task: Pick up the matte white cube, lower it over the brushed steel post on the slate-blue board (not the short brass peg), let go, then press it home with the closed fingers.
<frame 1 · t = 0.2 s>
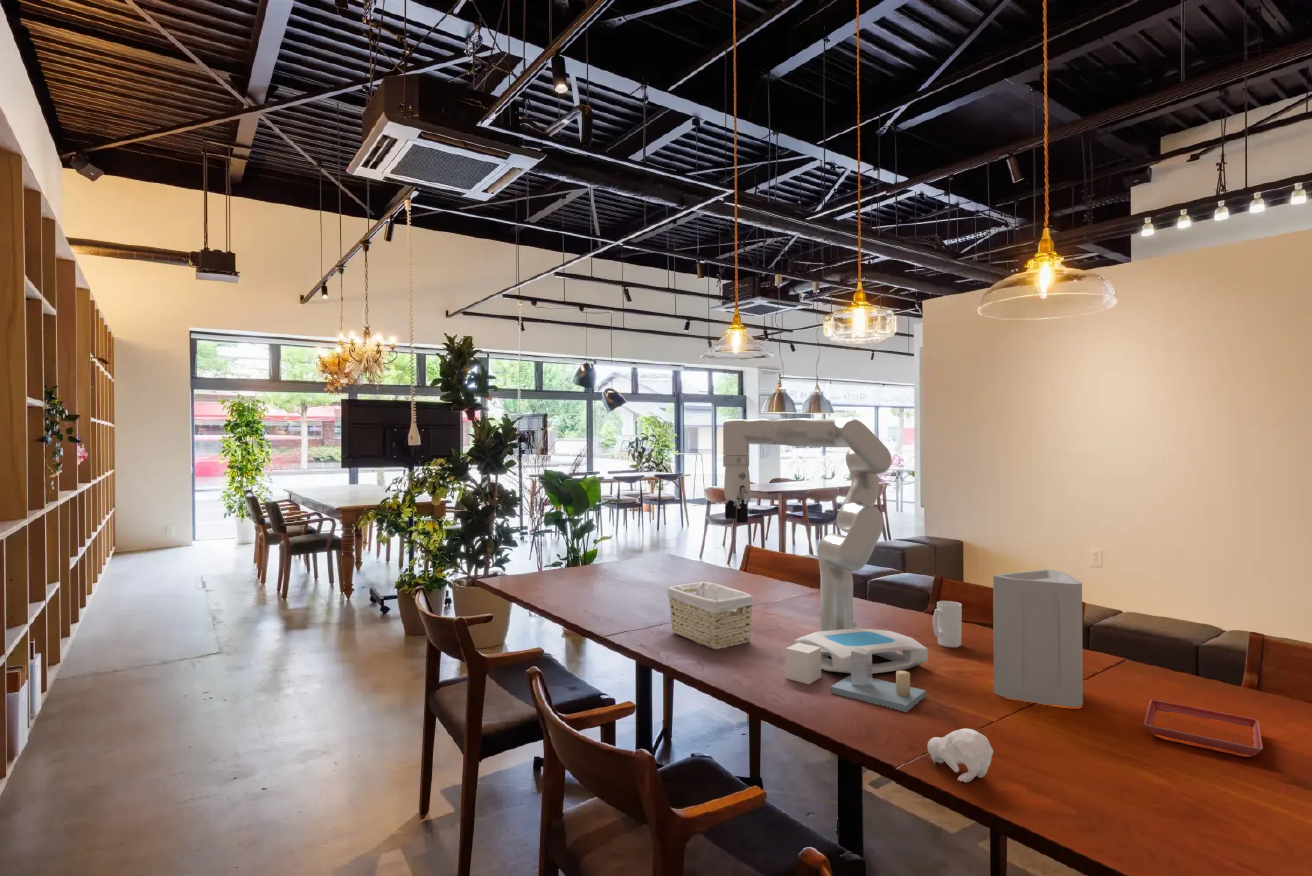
hand: (736, 520, 198), 37 cm above the table, tool pointing down, fingers open, 9 cm apart
storage basket: (709, 639, 208), on the table
slate board: (877, 694, 161), on the table
steel post: (861, 690, 164), resting on slate board
white animal figure: (956, 773, 124), on the table
matte white cube: (803, 678, 173), on the table
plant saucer: (1201, 738, 139), on the table
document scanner: (859, 662, 184), on the table, touching slate board
grey triangular planter: (1048, 698, 159), on the table
mug: (945, 645, 201), on the table
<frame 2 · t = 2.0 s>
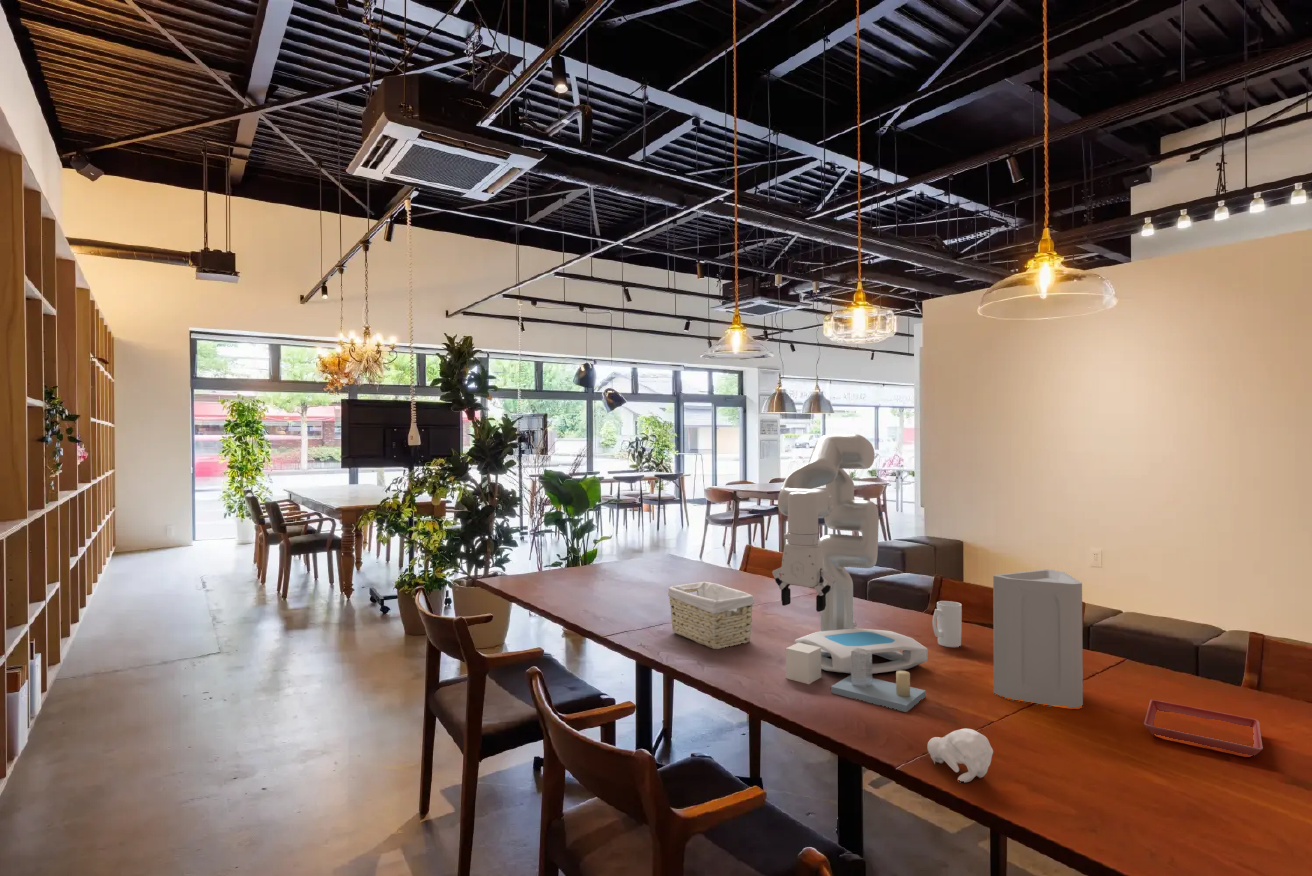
hand: (803, 607, 173), 18 cm above the table, tool pointing down, fingers open, 9 cm apart
nothing on the table moved.
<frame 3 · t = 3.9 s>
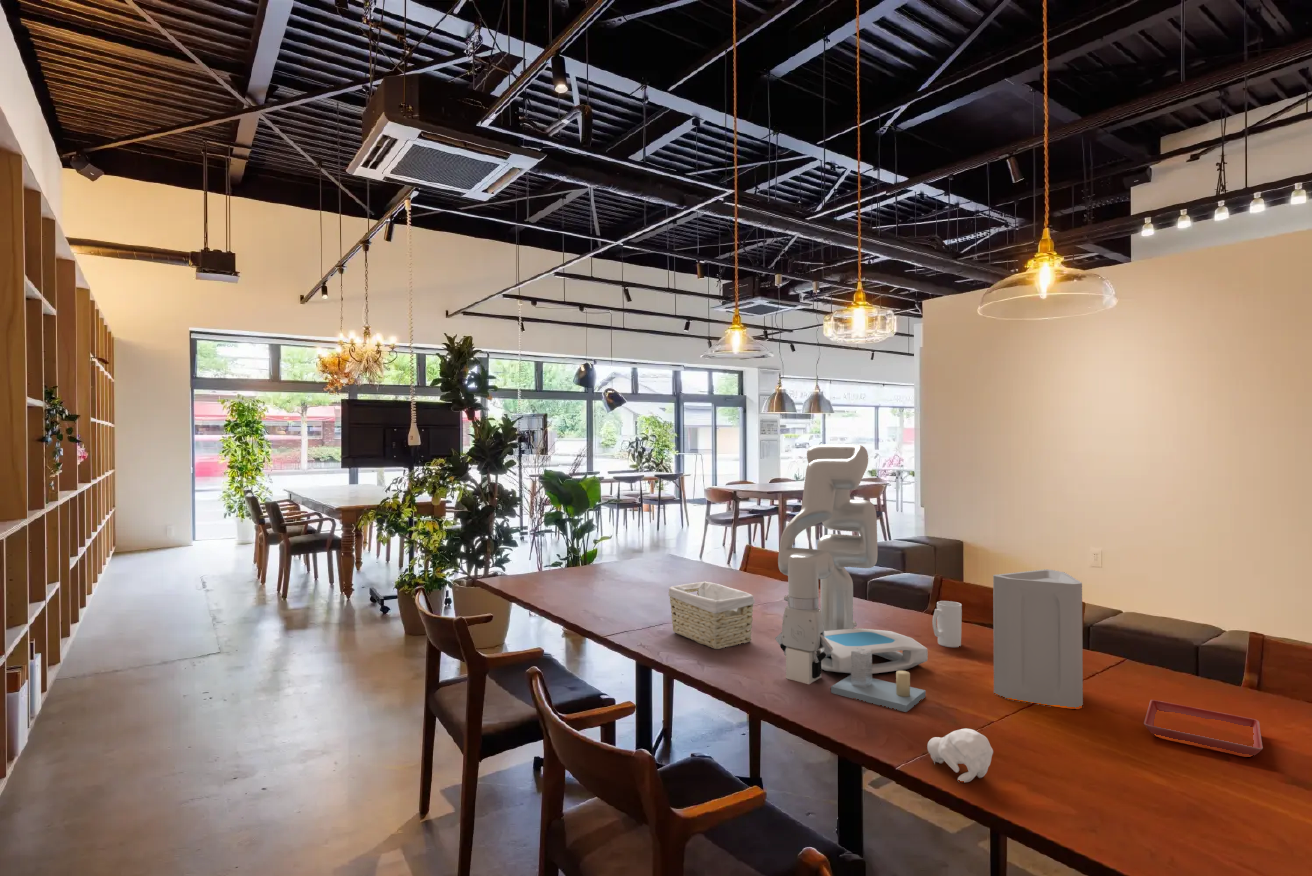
hand: (803, 673, 173), 1 cm above the table, tool pointing down, fingers closed on matte white cube, 6 cm apart
matte white cube: (803, 678, 173), on the table, touching gripper
everything else where it was.
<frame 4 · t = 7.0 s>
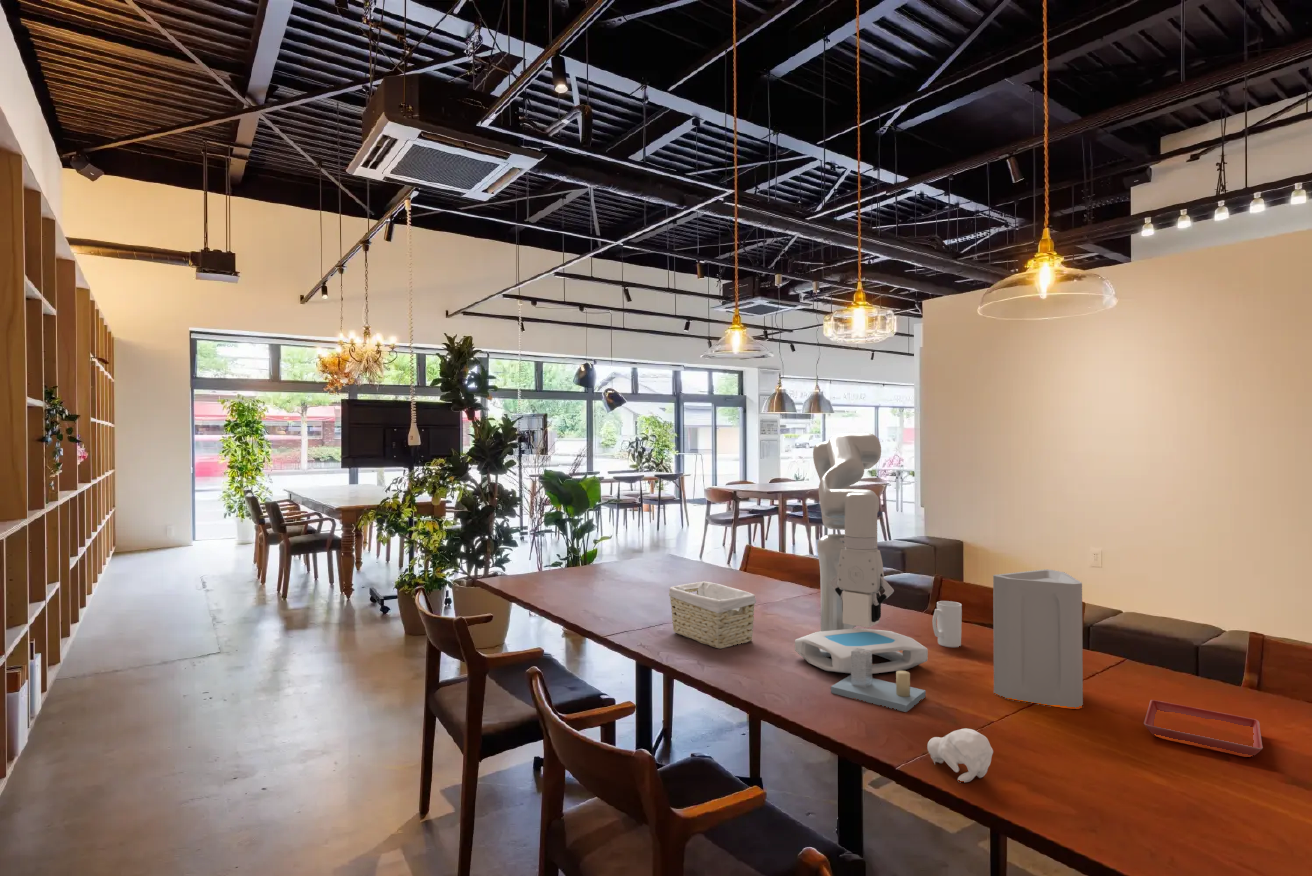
hand: (861, 617, 164), 18 cm above the table, tool pointing down, fingers closed on matte white cube, 6 cm apart
matte white cube: (861, 622, 164), point 16 cm above the table, touching gripper
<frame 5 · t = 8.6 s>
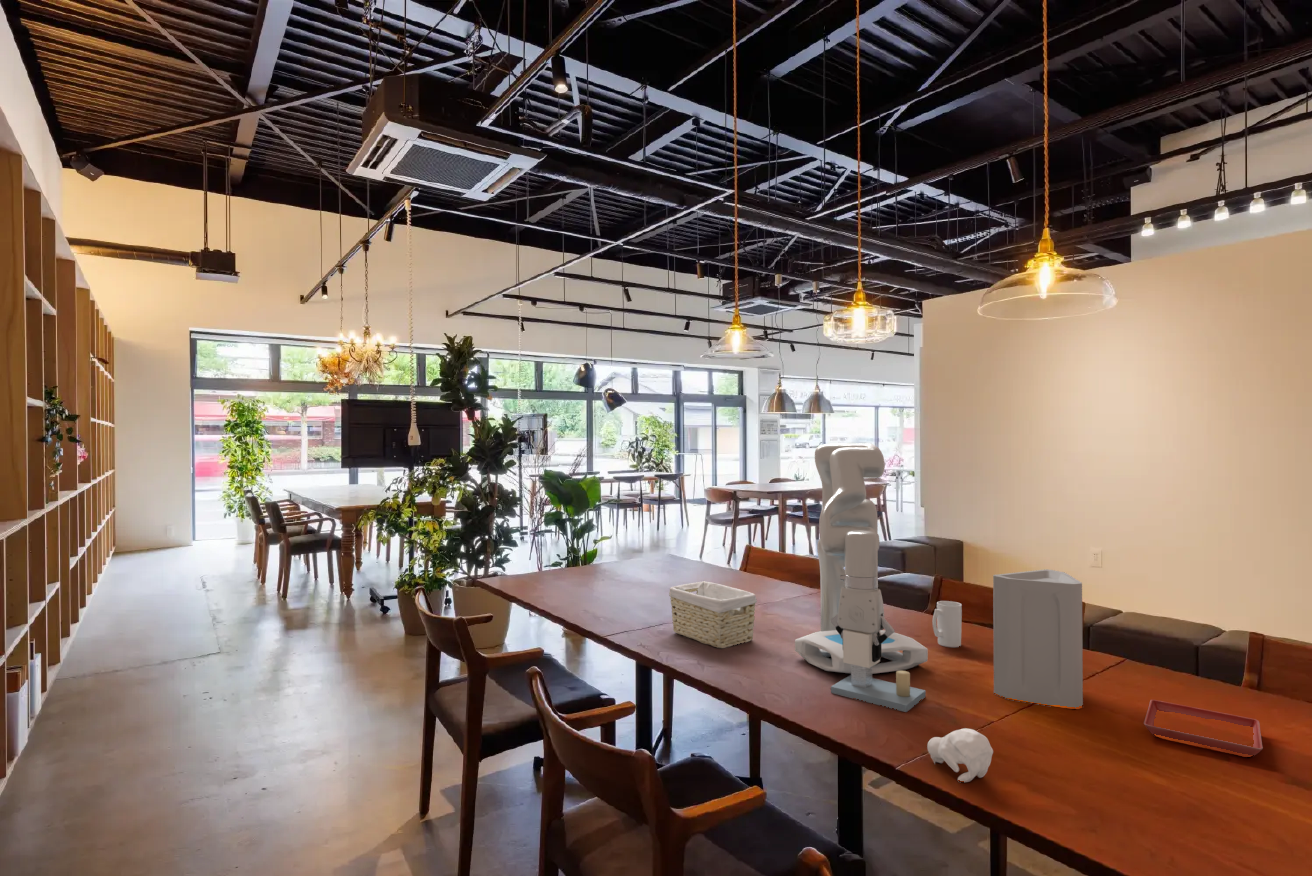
hand: (861, 657, 164), 8 cm above the table, tool pointing down, fingers closed on matte white cube, 6 cm apart
matte white cube: (861, 662, 164), point 7 cm above the table, touching gripper
when the fingers open (4 cm above the table, at t = 9.9 s): matte white cube stays where it is, resting on steel post.
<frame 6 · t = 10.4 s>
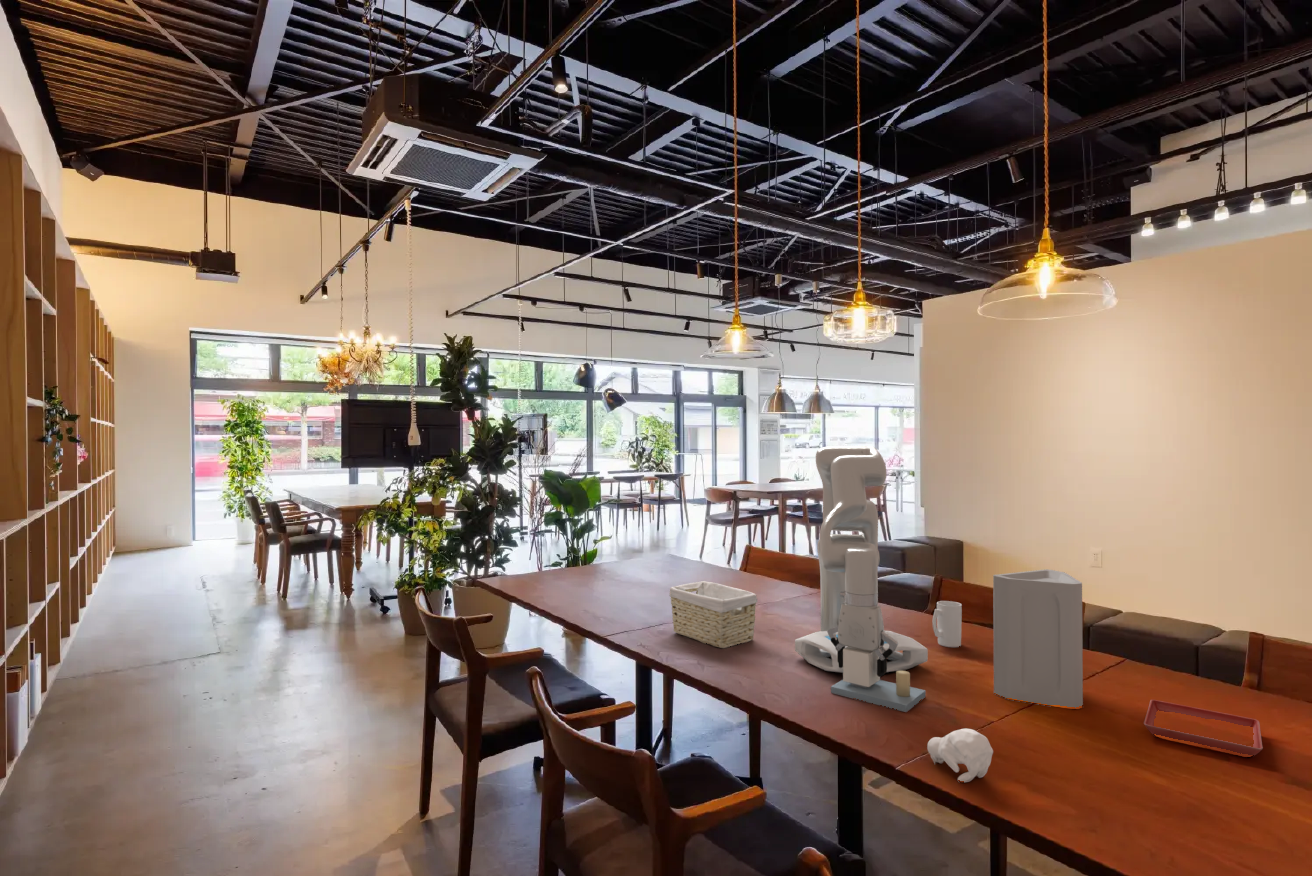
hand: (861, 670, 164), 5 cm above the table, tool pointing down, fingers open, 9 cm apart
matte white cube: (861, 680, 164), point 2 cm above the table, touching steel post
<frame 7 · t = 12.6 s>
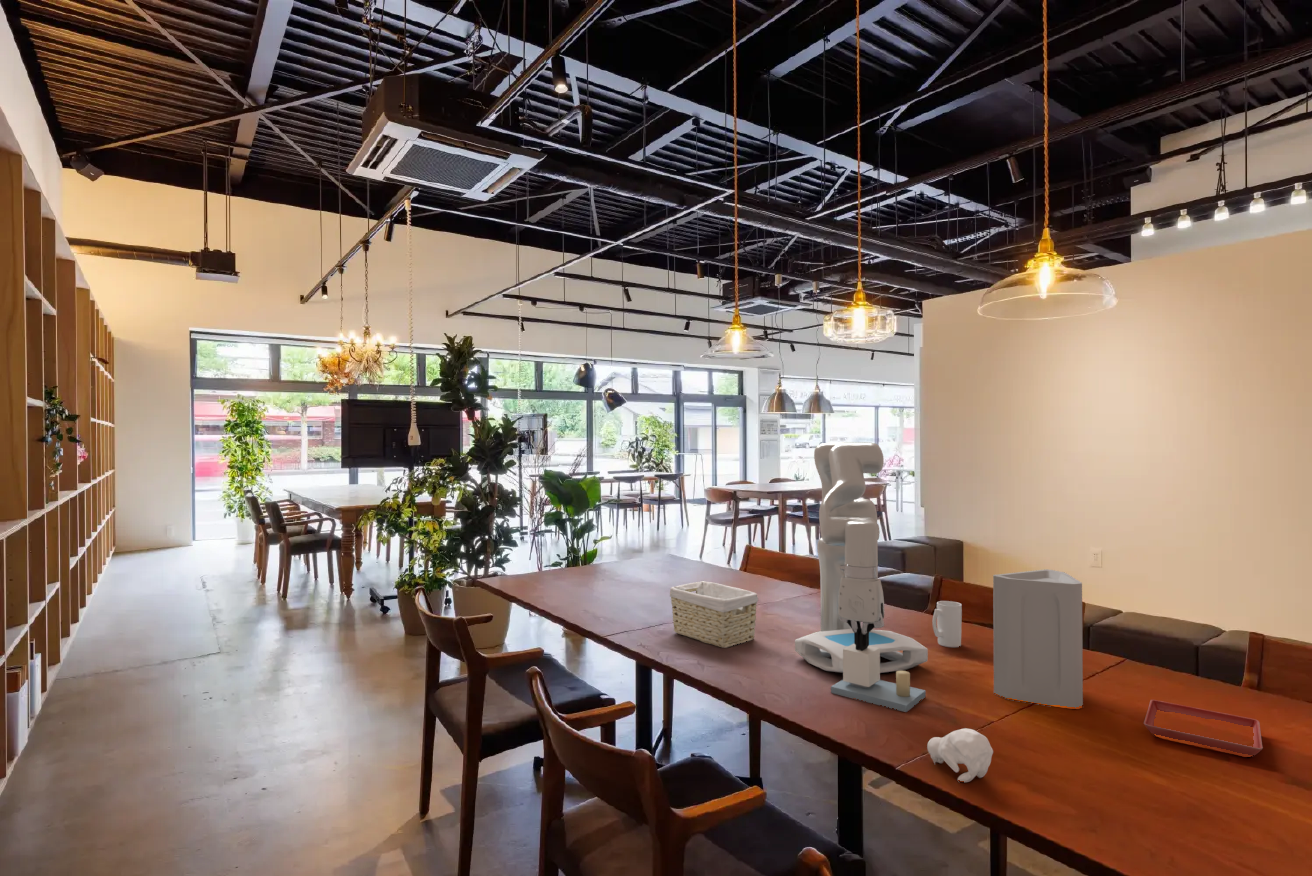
hand: (861, 648, 164), 10 cm above the table, tool pointing down, fingers closed
matte white cube: (861, 680, 164), point 2 cm above the table, touching gripper, steel post
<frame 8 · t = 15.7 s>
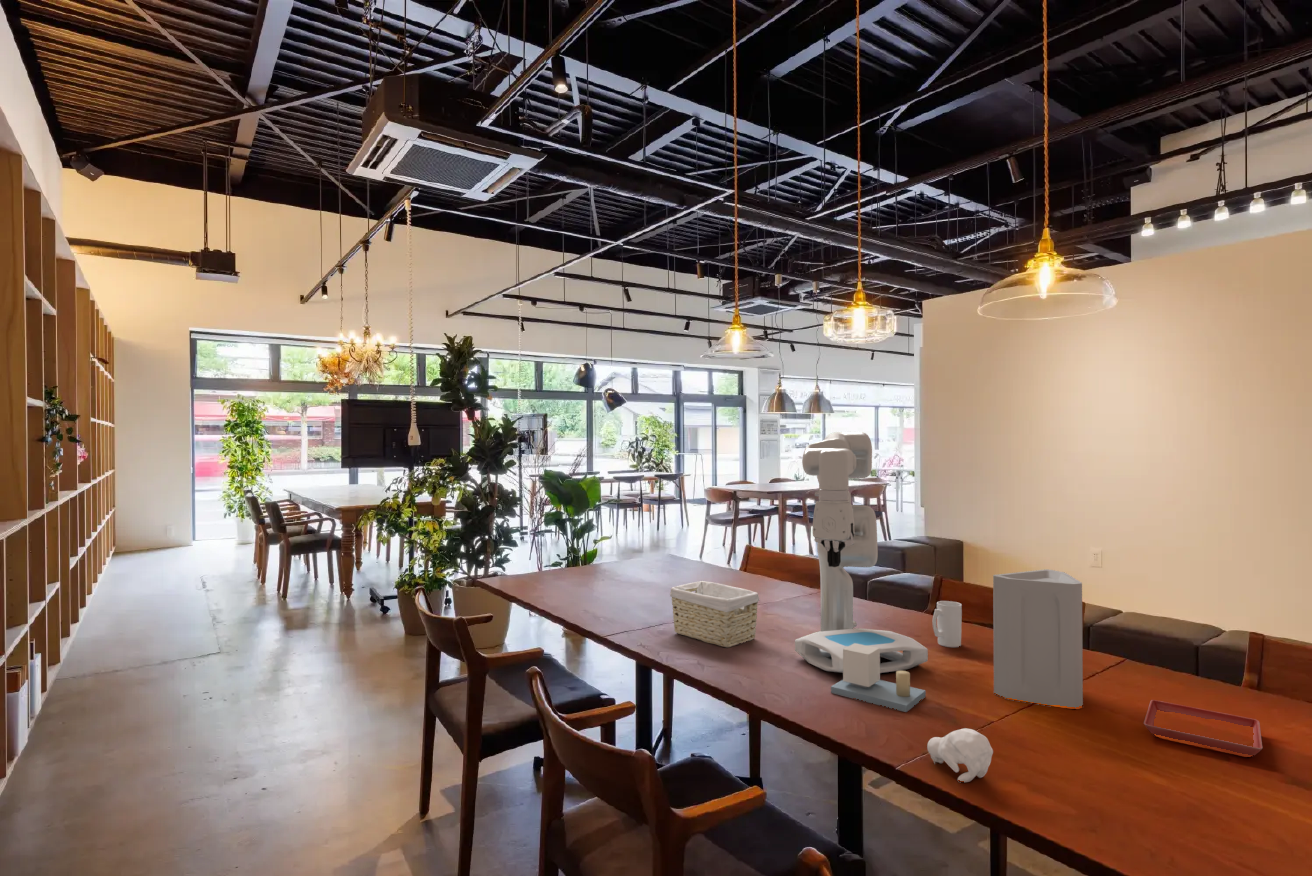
hand: (834, 566, 180), 27 cm above the table, tool pointing down, fingers closed
matte white cube: (861, 680, 164), point 2 cm above the table, touching steel post
at the end: matte white cube 0.0 cm from the steel post (horizontally); matte white cube point 2.5 cm above the table; the gripper is holding nothing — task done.
